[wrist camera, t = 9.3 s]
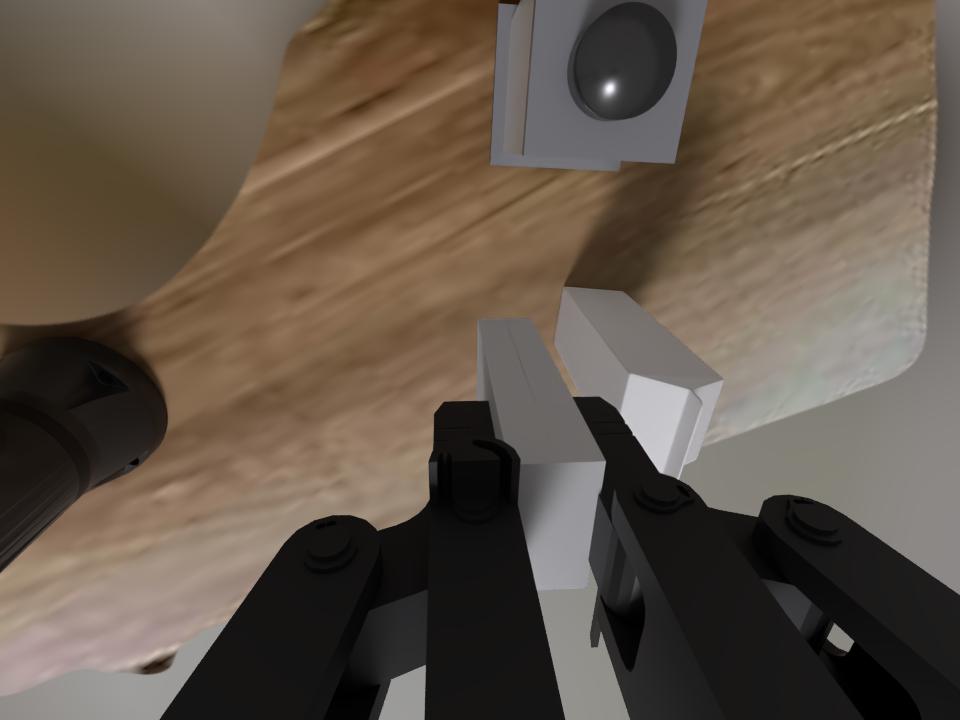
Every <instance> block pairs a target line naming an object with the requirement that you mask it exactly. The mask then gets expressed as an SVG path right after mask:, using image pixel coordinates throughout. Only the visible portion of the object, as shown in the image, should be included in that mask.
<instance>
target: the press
mask: <svg viewBox="0 0 960 720" xmlns="http://www.w3.org/2000/svg"><path fill="white" fill-rule="evenodd" d="M626 2H641V3H645V4H648V5H651V6H652V7H654V8H656V9H657V10H658V11H660V12H661V13H662V14H663V15H664V16H665V17H666V19H667V20H668V22H669V23H670V25H671V27H672V29H673V32H674V35H675V39H676V44H677V62H676V68H675V72H674V76H673V78H672V81H671V83H670V85H669V87H668V89H667V91H666V92H665V94H664V95H663V97H662V98H661V99H660V100H659V101H658V103H657V104H656V105H655V106H653V107H652V108H651V109H650V110H648V111H647V112H645V113H643V114H641V115H639V116H637V117H634V118H630V119H624V120H617V121H599V120H596V119H593V118H591V117H589V116H587V115H586V114H584V113H583V112H582V111H581V110H580V109H579V108H578V106H577V105H576V104H575V102H574V100H573V98H572V96H571V94H570V90H569V87H568V81H567V67H568V61H569V57H570V53H571V51H572V48H573V46H574V44H575V42H576V40H577V39H578V37H579V36H580V35H581V33H582V32H583V31H584V30H585V29H586V28H587V27H588V26H589V25H590V24H591V23H593V22H594V21H595V20H596V19H597V18H598V17H599V16H601V15H602V14H603V13H604V12H605V11H607V10H608V9H610V8H612V7H614V6H616V5H619V4H622V3H626ZM707 2H708V0H521V1H520V3H519V5H514V4H500V3H499V4H498V11H497V30H496V49H495V68H494V87H493V106H492V125H491V145H490V165H503V166H523V167H543V168H563V169H583V170H603V171H619V170H620V164H621V161H634V162H653V163H672V164H675V159H676V154H677V149H678V144H679V139H680V134H681V129H682V124H683V120H684V115H685V110H686V105H687V100H688V95H689V90H690V85H691V80H692V75H693V70H694V66H695V61H696V56H697V51H698V46H699V41H700V36H701V31H702V26H703V21H704V17H705V12H706V7H707Z"/></svg>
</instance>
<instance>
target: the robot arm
mask: <svg viewBox="0 0 960 720" xmlns="http://www.w3.org/2000/svg"><path fill="white" fill-rule="evenodd" d="M166 426H167V416H166V410H165V406H164V403H163V401H162V398H161V396H160V394H159V392H158V390H157V389H156V387H155V386H154V384H153V383H152V382H151V380H150V379H149V378H148V377H147V376H146V375H145V374H144V373H143V372H142V371H141V370H140V369H139V368H138V367H137V366H136V365H135V364H133V363H132V362H131V361H129V360H128V359H127V358H125V357H124V356H122V355H120V354H119V353H117V352H115V351H113V350H111V349H109V348H107V347H104V346H102V345H99V344H97V343H94V342H90V341H86V340H82V339H77V338H67V337H55V338H47V339H42V340H38V341H35V342H32V343H30V344H28V345H26V346H24V347H21V348H19V349H17V350H15V351H13V352H11V353H9V354H8V355H6V356H5V357H3V358H2V359H1V360H0V573H1V572H2V571H3V570H4V569H5V568H6V567H7V566H8V565H10V564H11V563H12V562H13V561H14V560H15V559H16V558H17V557H18V556H19V555H20V554H21V553H22V552H23V551H24V550H25V549H26V548H27V547H28V546H29V545H30V544H32V543H33V542H34V541H35V540H36V539H37V538H38V537H39V536H40V535H41V534H42V533H43V532H44V531H45V530H46V529H47V528H48V527H49V526H50V525H51V524H52V523H53V522H55V521H56V520H57V519H58V518H59V517H60V516H61V515H62V514H63V513H64V512H65V511H66V510H67V509H68V508H69V507H70V506H71V505H72V504H73V503H74V502H75V501H76V500H78V499H79V498H80V497H81V496H82V495H83V494H85V493H87V492H89V491H91V490H93V489H95V488H97V487H99V486H101V485H104V484H106V483H108V482H110V481H112V480H114V479H116V478H118V477H120V476H122V475H125V474H127V473H129V472H131V471H132V470H134V469H135V468H137V467H138V466H140V465H141V464H142V463H143V462H144V461H145V460H146V459H147V458H148V457H149V456H150V455H151V454H152V453H153V452H154V451H155V450H156V449H157V448H158V447H159V445H160V444H161V442H162V440H163V438H164V435H165V432H166ZM429 490H430V500H429V502H428V503H427V505H426V507H425V508H424V509H423V510H422V511H421V512H420V513H419V514H417V515H416V516H414V517H413V518H411V519H409V520H408V521H406V522H403V523H401V524H398V525H396V526H392V527H389V528H386V529H382V530H379V531H377V530H376V528H374V527H373V526H372V525H371V524H370V523H369V522H368V521H366V520H364V519H361V518H358V517H355V516H351V515H332V516H329V517H325V518H322V519H318V520H314V521H312V522H311V523H309V524H307V525H305V526H304V527H302V528H300V529H298V530H297V531H296V532H295V533H294V534H293V535H292V536H291V537H290V538H289V539H288V540H287V541H286V542H285V543H284V544H283V546H282V547H281V549H280V550H279V551H278V553H277V554H276V556H275V557H274V558H273V560H272V561H271V563H270V564H269V566H268V567H267V568H266V570H265V571H264V573H263V574H262V575H261V577H260V578H259V580H258V581H257V582H256V584H255V585H254V587H253V588H252V590H251V591H250V592H249V594H248V595H247V597H246V598H245V599H244V601H243V602H242V604H241V605H240V607H239V608H238V609H237V611H236V612H235V614H234V615H233V616H232V618H231V619H230V621H229V622H228V624H227V625H226V626H225V628H224V629H223V631H222V632H221V633H220V635H219V636H218V638H217V639H216V640H215V642H214V643H213V645H212V646H211V647H210V649H209V650H208V652H207V653H206V655H205V656H204V657H203V659H202V660H201V662H200V663H199V664H198V666H197V667H196V669H195V670H194V672H193V673H192V675H191V676H190V677H189V679H188V680H187V681H186V683H185V684H184V686H183V687H182V688H181V690H180V691H179V693H178V694H177V695H176V697H175V698H174V700H173V701H172V703H171V704H170V705H169V707H168V708H167V710H166V711H165V712H164V714H163V715H162V717H161V718H160V720H378V719H379V716H380V713H381V710H382V707H383V704H384V700H385V698H386V694H387V692H388V688H389V685H390V682H391V679H393V678H395V677H398V676H400V675H403V674H405V673H407V672H410V671H412V670H414V669H416V668H419V667H421V666H424V665H426V687H425V689H426V691H425V720H565V716H564V712H563V707H562V703H561V698H560V694H559V690H558V685H557V680H556V676H555V671H554V666H553V662H552V657H551V653H550V648H549V643H548V639H547V634H546V630H545V625H544V621H543V616H542V612H541V607H540V603H539V598H538V593H537V590H555V589H574V588H586V587H587V580H588V574H589V568H590V566H591V569H592V572H593V575H594V577H595V580H596V583H597V586H598V591H597V596H596V602H595V608H594V615H593V620H592V626H591V632H590V639H591V647H598V642H599V637H600V632H602V634H603V638H604V641H605V644H606V647H607V650H608V653H609V656H610V659H611V662H612V665H613V668H614V671H615V674H616V678H617V681H618V684H619V686H620V690H621V693H622V696H623V699H624V702H625V705H626V708H627V711H628V714H629V717H630V720H960V595H959V594H957V593H956V592H954V591H953V590H952V589H950V588H948V587H947V586H946V585H944V584H943V583H942V582H940V581H939V580H937V579H936V578H934V577H933V576H931V575H930V574H929V573H927V572H926V571H924V570H923V569H922V568H920V567H919V566H917V565H916V564H914V563H913V562H911V561H910V560H909V559H907V558H906V557H904V556H903V555H901V554H900V553H898V552H897V551H896V550H894V549H893V548H891V547H890V546H889V545H887V544H885V543H884V542H883V541H881V540H880V539H879V538H877V537H876V536H874V535H873V534H871V533H870V532H868V531H867V530H866V529H864V528H863V527H861V526H860V525H858V524H857V523H856V522H854V521H853V520H851V519H850V518H848V517H847V516H845V515H844V514H842V513H840V512H838V511H837V510H835V509H833V508H831V507H830V506H828V505H825V504H823V503H820V502H817V501H814V500H812V499H809V498H805V497H800V496H794V495H776V496H772V497H770V498H768V499H767V500H765V501H764V502H763V505H762V508H761V511H760V514H759V516H758V517H754V516H749V515H744V514H738V513H733V512H727V511H722V510H717V509H714V508H709V507H707V505H706V504H705V502H704V501H703V500H702V498H701V497H700V496H699V495H698V494H697V493H696V492H695V491H694V490H693V489H692V488H691V487H690V486H689V485H687V484H685V483H683V482H681V481H680V480H678V479H676V478H675V477H672V476H668V475H665V474H662V473H659V471H658V470H657V468H656V467H655V465H654V464H653V462H652V461H651V459H650V458H649V456H648V455H647V453H646V452H645V450H644V449H643V447H642V446H641V444H640V443H639V441H638V440H637V438H636V437H635V436H633V432H632V431H631V429H630V428H629V426H628V425H627V424H625V420H624V419H623V417H622V416H621V414H620V413H619V411H618V410H617V408H616V407H614V406H613V405H611V404H610V403H608V402H607V401H605V400H604V399H602V398H601V397H599V396H597V397H572V395H571V394H570V392H569V390H568V388H567V386H566V384H565V382H564V380H563V378H562V376H561V374H560V373H559V371H558V369H557V367H556V365H555V363H554V361H553V359H552V357H551V355H550V353H549V352H548V350H547V348H546V346H545V344H544V342H543V340H542V338H541V336H540V334H539V332H538V331H537V329H536V327H535V325H534V323H533V321H532V319H531V318H514V319H478V336H477V401H451V402H443V403H442V405H441V406H440V407H439V409H438V410H437V411H436V412H435V414H434V443H433V451H432V454H431V457H430V459H429ZM834 623H835V624H836V625H837V626H838V627H840V628H841V629H842V630H843V631H844V632H845V633H846V634H848V636H849V637H850V638H852V639H853V640H854V643H853V645H852V647H851V649H850V651H849V652H846V651H844V650H841V649H839V648H837V647H836V646H835V645H833V644H832V643H831V642H830V641H829V640H828V639H827V637H828V635H829V633H830V631H831V629H832V627H833V625H834Z"/></svg>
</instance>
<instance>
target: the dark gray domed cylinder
mask: <svg viewBox="0 0 960 720" xmlns="http://www.w3.org/2000/svg"><path fill="white" fill-rule="evenodd" d="M676 62H677V44H676V39H675V35H674V32H673V29H672V27H671V25H670V23H669V22H668V20H667V19H666V17H665V16H664V15H663V14H662V13H661V12H660V11H658V10H657V9H656V8H654V7H652V6H651V5H648V4H645V3H641V2H626V3H622V4H619V5H616V6H614V7H612V8H610V9H608V10H607V11H605V12H604V13H603V14H602V15H601V16H599V17H598V18H597V19H596V20H595V21H594V22H593V23H591V24H590V25H589V26H588V27H587V28H586V29H585V30H584V31H583V32H582V33H581V35H580V36H579V37H578V39H577V40H576V42H575V44H574V46H573V48H572V51H571V53H570V57H569V61H568V67H567V81H568V87H569V90H570V94H571V96H572V98H573V100H574V102H575V104H576V105H577V106H578V108H579V109H580V110H581V111H582V112H583V113H584V114H586V115H587V116H589V117H591V118H593V119H596V120H599V121H617V120H624V119H630V118H634V117H637V116H639V115H641V114H643V113H645V112H647V111H648V110H650V109H651V108H652V107H653V106H655V105H656V104H657V103H658V101H659V100H660V99H661V98H662V97H663V95H664V94H665V92H666V91H667V89H668V87H669V85H670V83H671V81H672V78H673V76H674V72H675V68H676Z"/></svg>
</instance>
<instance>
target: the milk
mask: <svg viewBox="0 0 960 720" xmlns="http://www.w3.org/2000/svg"><path fill="white" fill-rule="evenodd" d="M554 344H555V346H556V348H557V350H558V352H559V354H560V356H561V358H562V360H563V362H564V364H565V366H566V368H567V370H568V372H569V374H570V376H571V378H572V380H573V382H574V384H575V386H576V388H577V390H578V392H579V394H580V396H581V397H597V396H599V397H601V398H602V399H604V400H605V401H607V402H608V403H610V404H611V405H613V406H614V407H616V408H617V410H618V411H619V413H620V414H621V416H622V417H623V419H624V420H625V424H627V425H628V426H629V428H630V429H631V431H632V432H633V436H635V437H636V438H637V440H638V441H639V443H640V444H641V446H642V447H643V449H644V450H645V452H646V453H647V455H648V456H649V458H650V459H651V461H652V462H653V464H654V465H655V467H656V468H657V470H658V471H659V473H662V474H665V475H668V476H672V477H675V478H676V479H678V480H679V478H680V474H681V472H682V469H683V466H684V465H686V464H688V463H690V462H692V461H694V460H696V459H697V456H698V454H699V451H700V448H701V445H702V442H703V440H704V437H705V434H706V431H707V428H708V425H709V422H710V420H711V417H712V414H713V411H714V408H715V405H716V402H717V399H718V397H719V394H720V391H721V388H722V385H723V382H724V379H723V378H722V377H721V376H720V375H719V374H718V373H716V372H715V371H714V370H713V369H712V368H711V367H710V366H708V365H707V364H706V363H705V362H704V361H703V360H702V359H700V358H699V357H698V356H697V355H696V354H695V353H693V352H692V351H691V350H690V349H689V348H688V347H687V346H685V345H684V344H683V343H682V342H681V341H680V340H679V339H677V338H676V337H675V336H674V335H673V334H672V333H670V332H669V331H668V330H667V329H666V328H665V327H664V326H662V325H661V324H660V323H659V322H658V321H657V320H656V319H654V318H653V317H652V316H651V315H650V314H649V313H648V312H646V311H645V310H644V309H643V308H642V307H641V306H639V305H638V304H637V303H636V302H635V301H634V300H633V299H631V298H630V297H629V296H628V295H627V294H626V293H625V292H623V291H615V290H602V289H590V288H578V287H563V292H562V298H561V304H560V310H559V316H558V321H557V327H556V333H555V339H554Z"/></svg>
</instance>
